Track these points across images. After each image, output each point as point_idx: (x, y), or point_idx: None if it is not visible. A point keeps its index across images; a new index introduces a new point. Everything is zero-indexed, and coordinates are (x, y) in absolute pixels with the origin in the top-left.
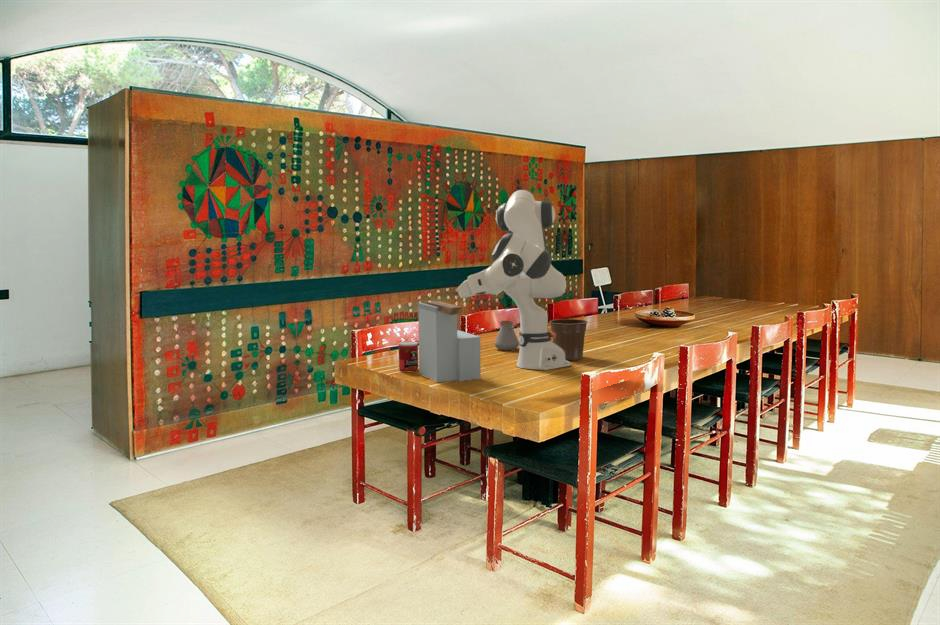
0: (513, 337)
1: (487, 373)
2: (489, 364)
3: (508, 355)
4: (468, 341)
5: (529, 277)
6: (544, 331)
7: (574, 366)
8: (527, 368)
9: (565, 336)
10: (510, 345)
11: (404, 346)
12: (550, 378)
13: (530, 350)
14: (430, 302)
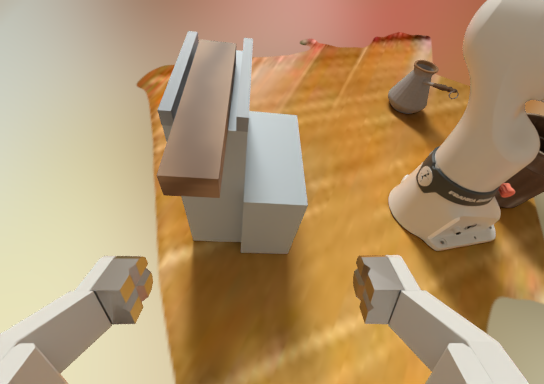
0: (422, 97)
1: (319, 219)
2: (347, 166)
3: (395, 133)
4: (269, 209)
5: None
6: (493, 189)
7: (498, 247)
8: (403, 226)
9: (524, 174)
10: (409, 109)
11: None
12: None
13: (430, 206)
14: (199, 51)
